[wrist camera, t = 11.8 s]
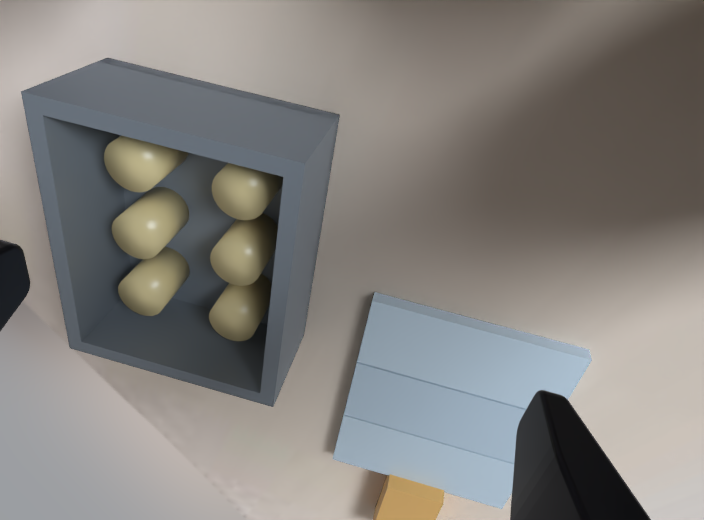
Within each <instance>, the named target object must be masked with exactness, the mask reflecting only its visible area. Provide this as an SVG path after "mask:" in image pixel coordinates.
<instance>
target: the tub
mask: <svg viewBox="0 0 704 520" xmlns="http://www.w3.org/2000/svg"><path fill="white" fill-rule="evenodd" d="M21 93H22V99H23V104H24V109H25V114H26V120H27V125H28V130H29V135H30V141H31V146H32V151H33V157H34V162H35V167H36V172H37V178H38V183H39V188H40V193H41V199H42V204H43V209H44V214H45V220H46V225H47V230H48V236H49V241H50V246H51V251H52V257H53V262H54V267H55V272H56V278H57V283H58V288H59V293H60V299H61V304H62V309H63V315H64V320H65V325H66V330H67V336H68V341H69V346H70V348H71V349H75V350H78V351H82V352H85V353H89V354H92V355H95V356H99V357H102V358H106V359H109V360H113V361H116V362H120V363H123V364H127V365H130V366H133V367H137V368H140V369H144V370H147V371H151V372H154V373H158V374H161V375H164V376H168V377H171V378H175V379H178V380H182V381H185V382H189V383H192V384H196V385H199V386H202V387H206V388H209V389H213V390H216V391H220V392H223V393H227V394H230V395H233V396H237V397H240V398H244V399H247V400H251V401H254V402H258V403H261V404H265V405H268V406H271V407H273V406H274V404H275V401H276V399H277V397H278V394H279V392H280V390H281V387H282V385H283V383H284V380H285V378H286V376H287V373H288V371H289V369H290V366H291V364H292V362H293V359H294V357H295V355H296V352H297V350H298V348H299V345H300V343H301V340H302V338H303V336H304V331H305V325H306V319H307V312H308V306H309V300H310V294H311V288H312V282H313V276H314V270H315V263H316V257H317V251H318V245H319V239H320V233H321V227H322V221H323V214H324V208H325V202H326V196H327V190H328V184H329V178H330V171H331V165H332V159H333V153H334V147H335V141H336V135H337V129H338V122H339V116H340V115H339V114H335V113H330V112H326V111H322V110H318V109H314V108H310V107H306V106H302V105H298V104H294V103H290V102H286V101H282V100H277V99H273V98H269V97H265V96H261V95H257V94H253V93H249V92H245V91H241V90H237V89H233V88H228V87H224V86H220V85H216V84H212V83H208V82H204V81H200V80H196V79H192V78H188V77H184V76H180V75H175V74H171V73H167V72H163V71H159V70H155V69H151V68H147V67H143V66H139V65H135V64H131V63H127V62H122V61H118V60H114V59H110V58H106V59H103V60H101V61H98V62H95V63H93V64H90V65H88V66H85V67H83V68H80V69H78V70H75V71H72V72H70V73H67V74H65V75H62V76H60V77H57V78H55V79H52V80H50V81H47V82H44V83H42V84H39V85H37V86H34V87H32V88H29V89H27V90H24V91H21Z"/></svg>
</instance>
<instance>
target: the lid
mask: <svg viewBox="0 0 704 520" xmlns="http://www.w3.org/2000/svg"><path fill="white" fill-rule="evenodd" d="M591 361H592V359H591V355H590V351H589V349H585V348H582V347H578V346H574V345H570V344H567V343H563V342H559V341H555V340H552V339H548V338H544V337H540V336H537V335H533V334H529V333H526V332H522V331H518V330H514V329H511V328H507V327H503V326H499V325H496V324H492V323H488V322H484V321H481V320H477V319H473V318H470V317H466V316H462V315H458V314H455V313H451V312H447V311H443V310H440V309H436V308H432V307H428V306H425V305H421V304H417V303H414V302H410V301H406V300H402V299H399V298H395V297H391V296H387V295H384V294H380V293H376V292H375V293H374V296H373V300H372V304H371V308H370V312H369V316H368V320H367V324H366V328H365V332H364V336H363V340H362V344H361V348H360V352H359V356H358V360H357V364H356V368H355V372H354V376H353V380H352V384H351V388H350V392H349V396H348V400H347V404H346V408H345V411H344V415H343V419H342V423H341V427H340V431H339V435H338V439H337V443H336V447H335V451H334V455H333V459H334V460H337V461H340V462H344V463H347V464H351V465H354V466H357V467H361V468H364V469H368V470H371V471H374V472H378V473H381V474H385V475H387V477H386V480H385V483H384V486H383V488H382V491H381V494H380V497H379V500H378V502H377V505H376V508H375V512H374V518H373V520H436V518H437V515H438V513H439V511H440V509H441V507H442V505H443V499H444V492H446V493H449V494H452V495H456V496H459V497H463V498H466V499H469V500H473V501H476V502H480V503H483V504H486V505H490V506H493V507H497V508H500V509H502V508H503V506H504V505H505V503H506V502H507V500H508V498H509V497H510V495H511V493H512V487H513V474H514V460H515V447H516V434H517V428H518V425H519V422H520V420H521V418H522V416H523V414H524V413H525V411H526V409H527V407H528V405H529V404H530V402H531V400H532V398H533V396H534V395H535V393H536V392H538V391H539V390H545V391H549V392H552V393H556V394H559V395H562V396H564V397H565V398H566V399H567V400H568V399H569V397H570V395H571V394H572V392H573V390H574V389H575V387H576V385H577V384H578V382H579V380H580V379H581V377H582V375H583V374H584V372H585V371H586V369H587V367H588V366H589V364H590V362H591Z"/></svg>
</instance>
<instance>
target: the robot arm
mask: <svg viewBox="0 0 704 520" xmlns="http://www.w3.org/2000/svg"><path fill="white" fill-rule="evenodd" d="M29 288H30V279H29V274H28V270H27V266H26V261H25V257H24V253H23V250H22V249H21V247H20V246H18V245H17V244H14V243H10V242H6V241H3V240H0V331H1V330H2V328H3V327H4V326H5V324H6V323H7V321H8V320H9V319H10V317H11V316H12V314H13V313H14V312H15V311H16V309H17V308H18V306H19V305H20V304H21V302H22V301H23V300H24V298H25V297H26V295H27V293H28V291H29ZM510 520H651V519H650V518H649V516H648V515H647V513H646V512H645V510H644V509H643V508H642V506H641V505H640V503H639V502H638V500H637V499H636V497H635V496H634V495H633V493H632V492H631V490H630V489H629V487H628V486H627V484H626V483H625V482H624V480H623V479H622V477H621V476H620V474H619V473H618V472H617V470H616V469H615V467H614V466H613V464H612V463H611V461H610V460H609V459H608V457H607V456H606V454H605V453H604V451H603V450H602V448H601V447H600V446H599V444H598V443H597V441H596V440H595V438H594V437H593V436H592V434H591V433H590V431H589V430H588V428H587V427H586V425H585V424H584V423H583V421H582V420H581V418H580V417H579V415H578V414H577V412H576V411H575V410H574V408H573V407H572V405H571V404H570V402H569V401H568V400H567V399H566V398H565V397H564V396H562V395H559V394H556V393H552V392H549V391H545V390H539V391H538V392H536V393H535V395H534V396H533V398H532V400H531V402H530V404H529V405H528V407H527V409H526V411H525V413H524V414H523V416H522V418H521V420H520V422H519V425H518V428H517V434H516V447H515V460H514V474H513V487H512V501H511V517H510Z"/></svg>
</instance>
